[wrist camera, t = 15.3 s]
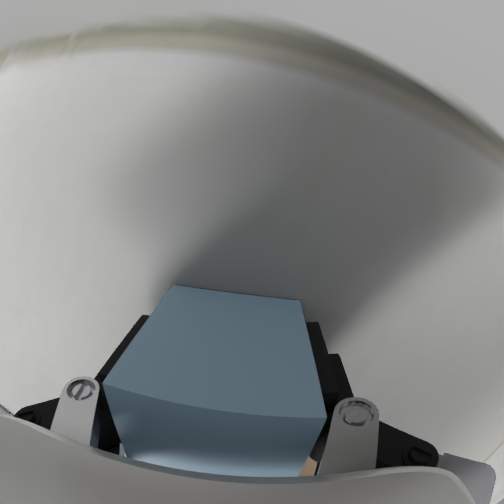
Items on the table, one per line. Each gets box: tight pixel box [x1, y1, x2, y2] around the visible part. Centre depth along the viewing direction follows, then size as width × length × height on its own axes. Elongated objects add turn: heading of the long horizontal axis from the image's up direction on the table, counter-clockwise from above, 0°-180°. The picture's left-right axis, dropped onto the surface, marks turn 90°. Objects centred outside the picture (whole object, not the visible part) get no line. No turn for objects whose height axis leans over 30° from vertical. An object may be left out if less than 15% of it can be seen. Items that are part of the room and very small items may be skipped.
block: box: [102, 285, 327, 477], centre depth 9 cm, size 5×5×6 cm
